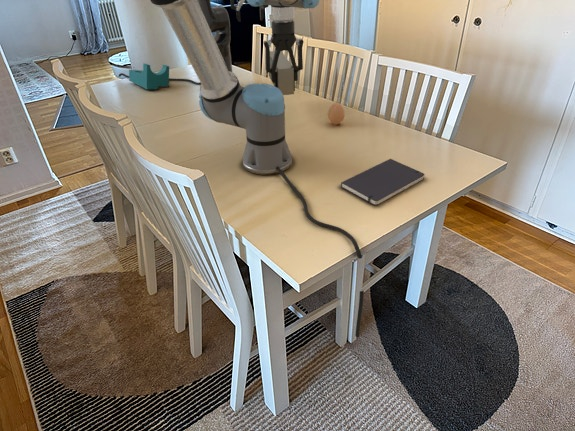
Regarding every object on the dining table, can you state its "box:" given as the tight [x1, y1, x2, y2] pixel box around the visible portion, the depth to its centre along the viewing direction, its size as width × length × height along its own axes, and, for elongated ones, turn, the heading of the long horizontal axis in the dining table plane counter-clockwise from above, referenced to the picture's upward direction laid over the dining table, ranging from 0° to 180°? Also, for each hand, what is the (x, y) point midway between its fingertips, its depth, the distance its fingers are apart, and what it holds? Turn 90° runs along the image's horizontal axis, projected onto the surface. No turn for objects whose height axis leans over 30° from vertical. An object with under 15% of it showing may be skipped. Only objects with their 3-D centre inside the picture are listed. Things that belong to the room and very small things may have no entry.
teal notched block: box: [128, 63, 170, 90], centre depth 189 cm, size 18×11×10 cm, turn 43°
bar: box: [268, 50, 295, 96], centre depth 151 cm, size 25×6×9 cm, turn 10°
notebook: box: [340, 158, 425, 206], centre depth 114 cm, size 13×2×21 cm
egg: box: [327, 102, 345, 125], centre depth 147 cm, size 6×6×8 cm
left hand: (250, 20), depth 157 cm, fingers open, 8 cm apart
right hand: (284, 90), depth 146 cm, fingers closed on bar, 5 cm apart
